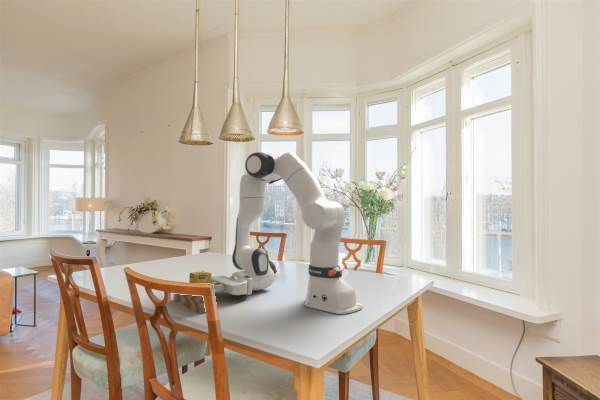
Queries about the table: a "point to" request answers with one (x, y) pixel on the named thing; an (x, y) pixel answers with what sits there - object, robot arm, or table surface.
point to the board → (191, 302)
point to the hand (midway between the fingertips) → (208, 287)
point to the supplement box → (200, 277)
